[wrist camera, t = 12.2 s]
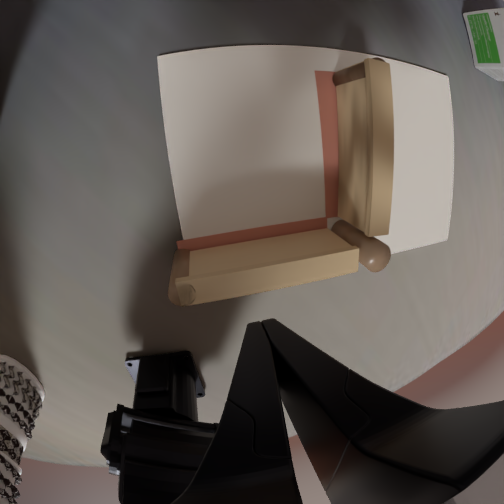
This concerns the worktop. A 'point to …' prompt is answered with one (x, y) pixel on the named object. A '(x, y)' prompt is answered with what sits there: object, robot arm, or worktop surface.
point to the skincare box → (487, 40)
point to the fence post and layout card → (289, 168)
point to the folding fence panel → (365, 145)
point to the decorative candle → (15, 421)
